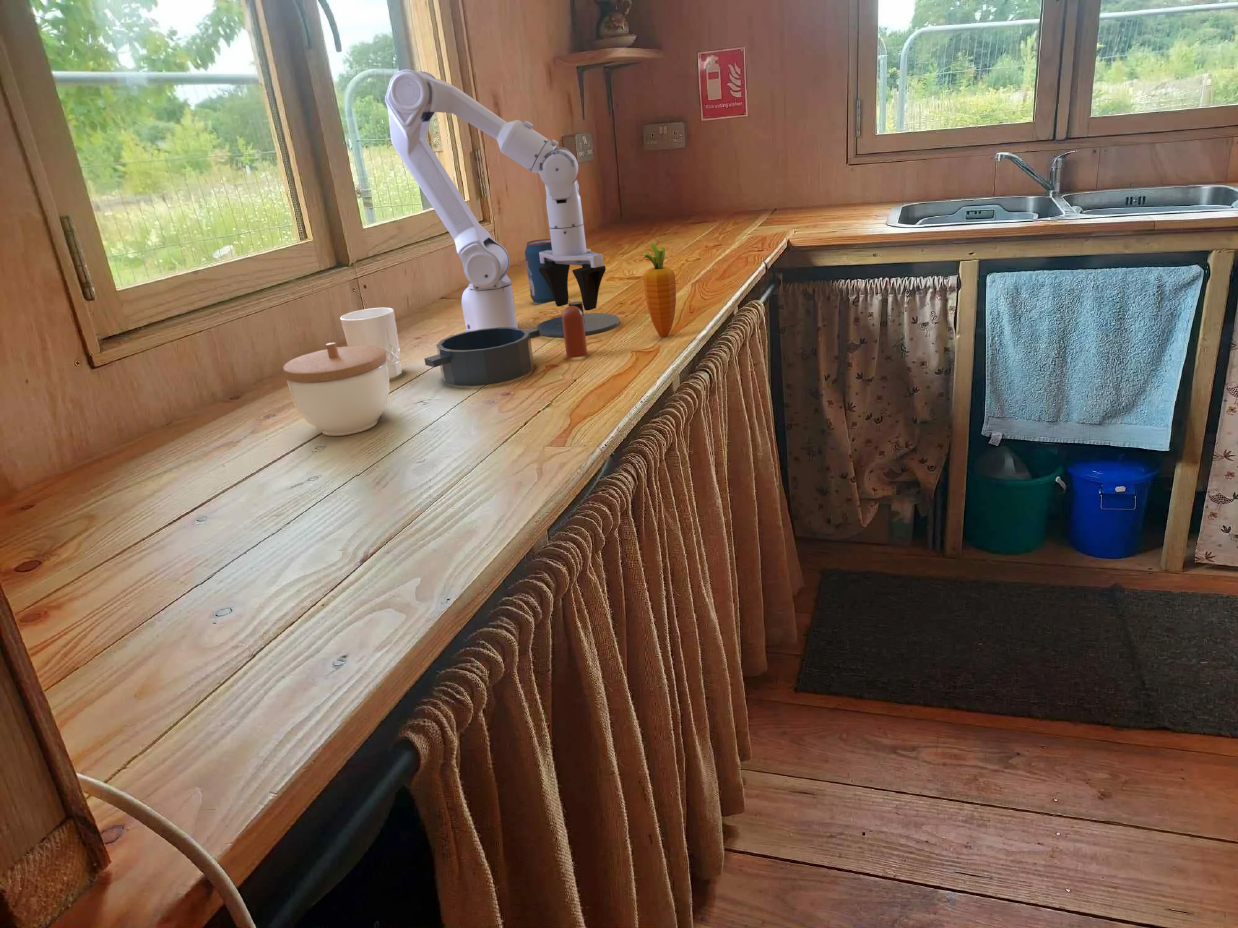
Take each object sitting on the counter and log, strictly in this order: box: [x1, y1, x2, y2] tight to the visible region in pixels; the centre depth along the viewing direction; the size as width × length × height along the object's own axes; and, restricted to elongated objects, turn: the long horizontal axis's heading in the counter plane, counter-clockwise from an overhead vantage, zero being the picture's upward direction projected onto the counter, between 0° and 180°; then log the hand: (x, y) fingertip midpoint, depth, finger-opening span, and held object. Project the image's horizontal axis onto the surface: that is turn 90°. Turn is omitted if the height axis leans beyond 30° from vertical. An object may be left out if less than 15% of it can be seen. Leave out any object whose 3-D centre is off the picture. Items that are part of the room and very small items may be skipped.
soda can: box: [524, 238, 555, 306], centre depth 174 cm, size 7×7×12 cm
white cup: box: [339, 307, 403, 379], centre depth 132 cm, size 8×8×10 cm
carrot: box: [642, 242, 677, 339], centre depth 136 cm, size 5×5×15 cm
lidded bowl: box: [282, 341, 390, 437], centre depth 111 cm, size 13×13×11 cm
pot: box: [424, 327, 541, 387], centre depth 129 cm, size 13×19×6 cm
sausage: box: [561, 305, 588, 358], centre depth 132 cm, size 3×3×8 cm
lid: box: [535, 300, 621, 338], centre depth 150 cm, size 14×14×5 cm
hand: (576, 307), depth 149 cm, fingers open, 7 cm apart
